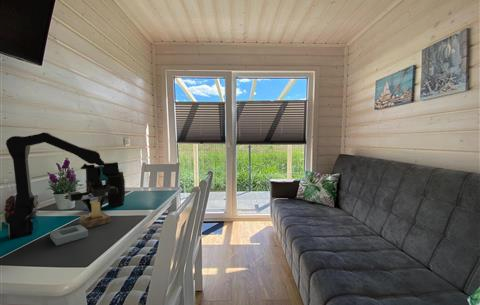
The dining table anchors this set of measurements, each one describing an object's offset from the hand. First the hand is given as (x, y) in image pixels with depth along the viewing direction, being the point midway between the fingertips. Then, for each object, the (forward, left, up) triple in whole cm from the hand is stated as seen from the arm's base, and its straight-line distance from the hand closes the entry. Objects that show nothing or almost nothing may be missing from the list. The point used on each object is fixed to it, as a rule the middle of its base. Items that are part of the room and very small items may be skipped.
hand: (94, 211), depth 103 cm
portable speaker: (+18, +22, -5) cm, 29 cm away
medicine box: (+6, +22, -6) cm, 23 cm away
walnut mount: (0, 0, -5) cm, 5 cm away
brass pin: (0, 0, -4) cm, 4 cm away
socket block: (-12, -10, -5) cm, 17 cm away
